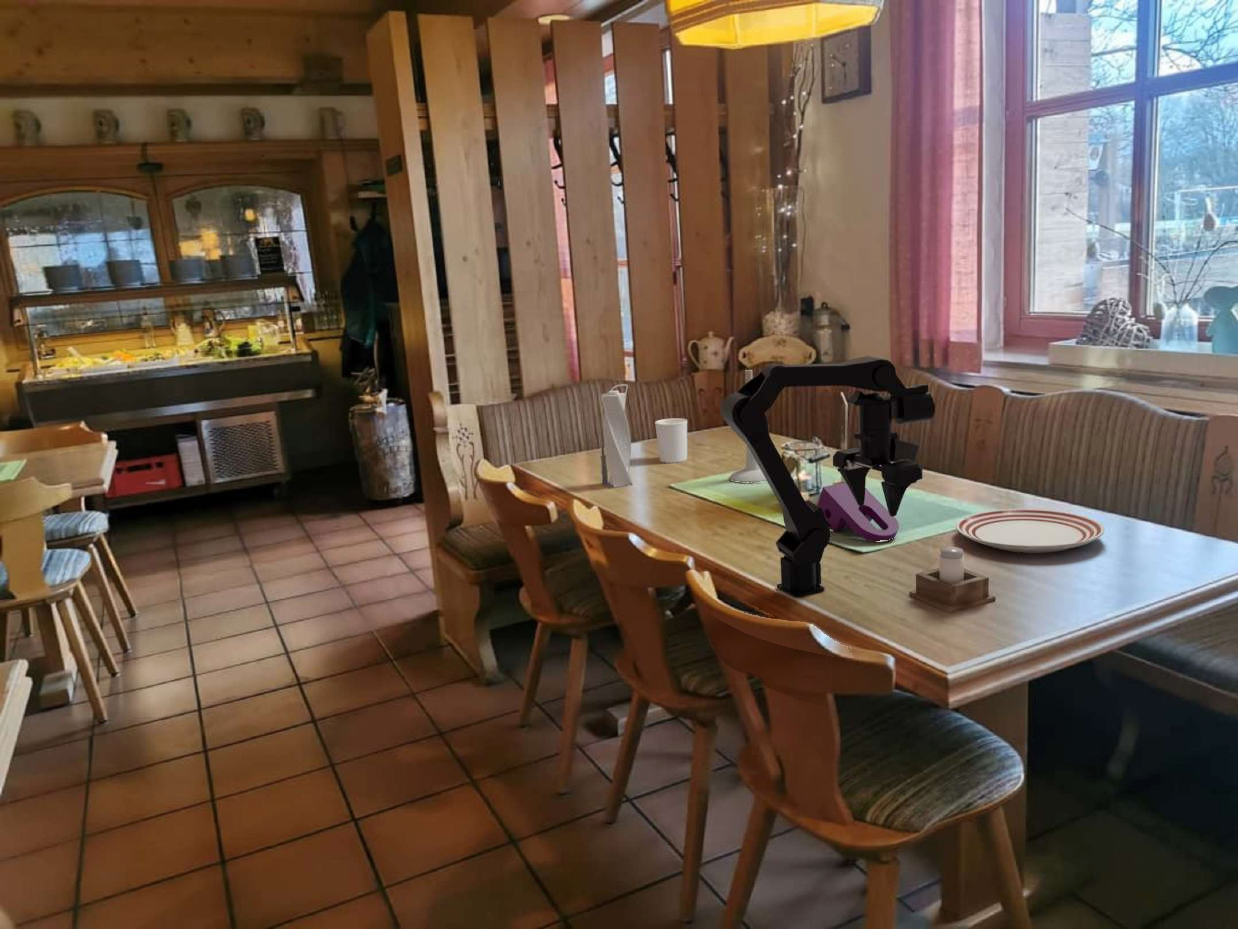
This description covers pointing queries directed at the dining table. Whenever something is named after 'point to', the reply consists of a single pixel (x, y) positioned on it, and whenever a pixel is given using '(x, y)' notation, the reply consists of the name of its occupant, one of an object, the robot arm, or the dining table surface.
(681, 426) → the white cup
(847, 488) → the mounting bracket
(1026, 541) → the dinner plate
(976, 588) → the box
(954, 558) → the salt shaker
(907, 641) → the dining table surface
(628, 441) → the skyscraper
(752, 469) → the candlestick
